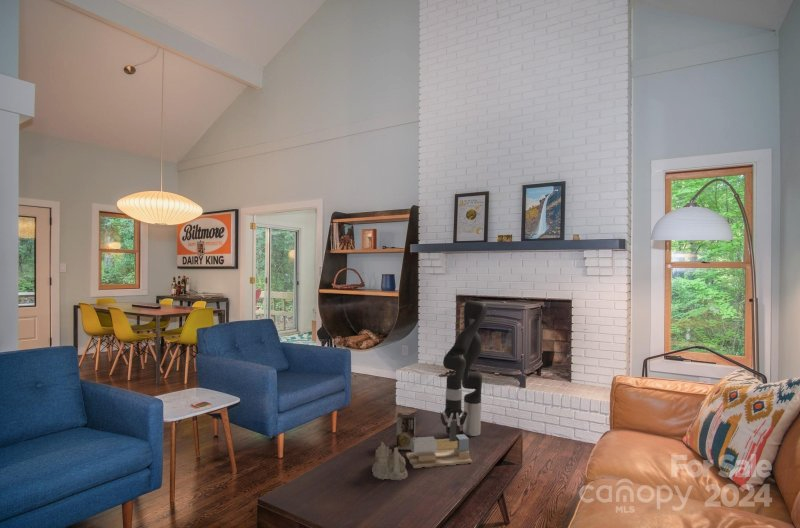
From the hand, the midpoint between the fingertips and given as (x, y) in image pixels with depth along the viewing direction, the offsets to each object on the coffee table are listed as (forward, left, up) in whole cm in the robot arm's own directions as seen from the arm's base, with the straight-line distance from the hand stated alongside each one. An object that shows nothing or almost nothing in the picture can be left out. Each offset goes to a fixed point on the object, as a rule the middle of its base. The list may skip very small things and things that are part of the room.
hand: (452, 433), depth 213 cm
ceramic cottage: (+8, -31, -12) cm, 35 cm away
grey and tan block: (0, -14, -10) cm, 18 cm away
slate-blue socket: (0, +5, -10) cm, 11 cm away
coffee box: (-16, -19, -12) cm, 27 cm away
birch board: (0, -7, -12) cm, 13 cm away
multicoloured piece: (0, -2, -6) cm, 7 cm away
